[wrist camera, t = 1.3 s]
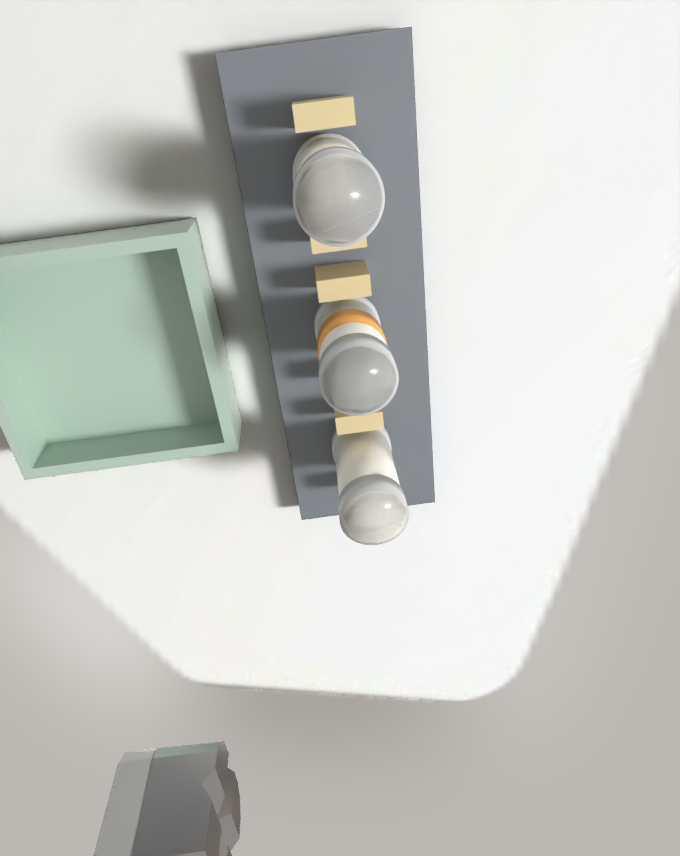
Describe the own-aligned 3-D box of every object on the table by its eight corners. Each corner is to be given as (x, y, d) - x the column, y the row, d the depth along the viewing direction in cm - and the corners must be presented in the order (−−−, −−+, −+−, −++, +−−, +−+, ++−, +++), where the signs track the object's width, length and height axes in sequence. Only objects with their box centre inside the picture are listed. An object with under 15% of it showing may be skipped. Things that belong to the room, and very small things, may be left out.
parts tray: (-40, 249, 29) (-72, 266, 27) (196, 217, 29) (187, 232, 27) (44, 449, 35) (24, 479, 32) (242, 422, 35) (238, 451, 32)
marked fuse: (309, 294, 30) (314, 349, 24) (375, 285, 30) (395, 339, 24) (318, 354, 32) (324, 420, 26) (380, 346, 32) (401, 410, 26)
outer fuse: (327, 418, 34) (335, 494, 28) (386, 410, 34) (406, 484, 28) (334, 467, 36) (344, 549, 29) (390, 459, 36) (411, 540, 29)
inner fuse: (287, 137, 27) (285, 156, 21) (360, 127, 27) (380, 144, 21) (298, 213, 28) (300, 252, 22) (367, 204, 29) (388, 240, 22)
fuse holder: (218, 53, 26) (208, 51, 23) (406, 28, 26) (422, 22, 23) (301, 507, 38) (302, 546, 35) (430, 490, 38) (443, 527, 35)
